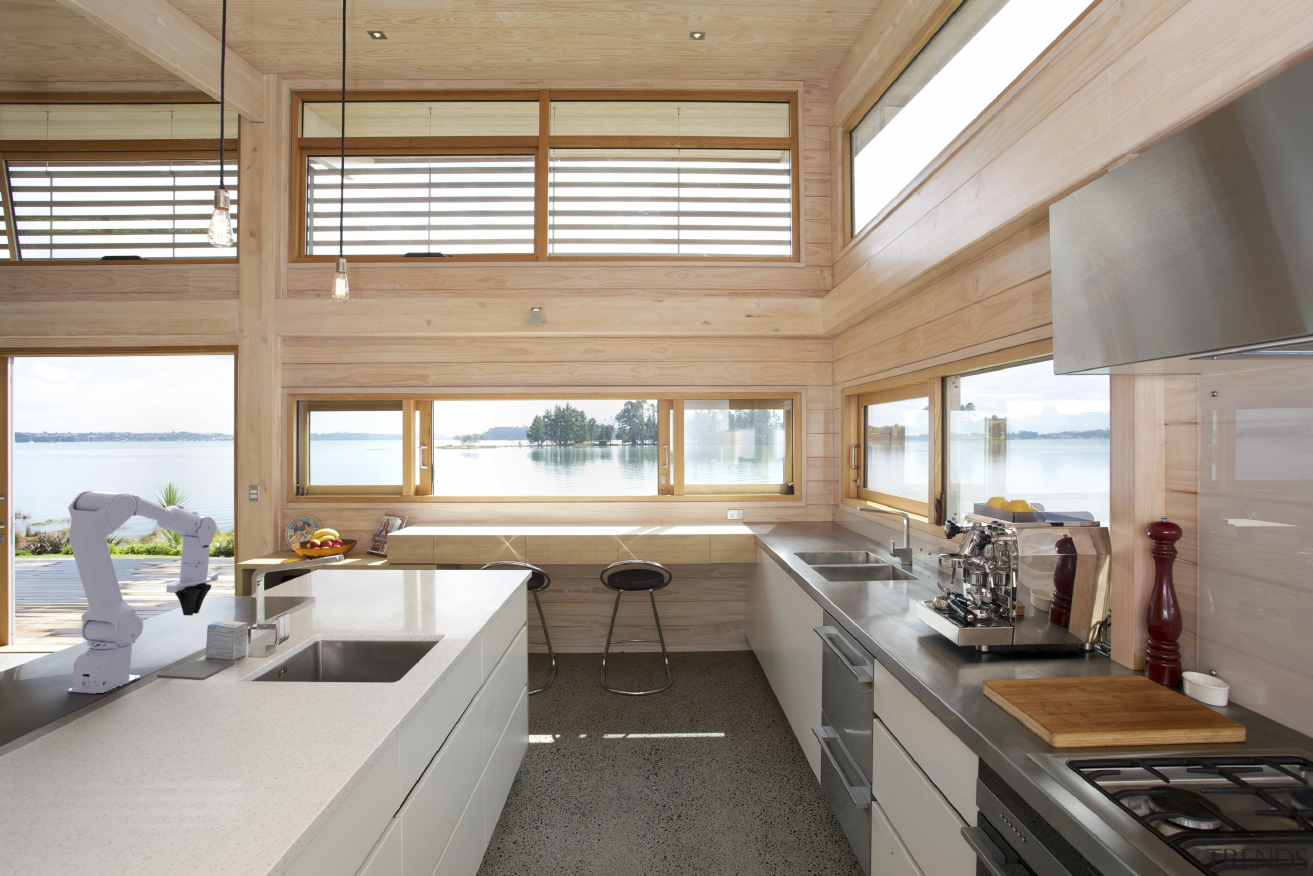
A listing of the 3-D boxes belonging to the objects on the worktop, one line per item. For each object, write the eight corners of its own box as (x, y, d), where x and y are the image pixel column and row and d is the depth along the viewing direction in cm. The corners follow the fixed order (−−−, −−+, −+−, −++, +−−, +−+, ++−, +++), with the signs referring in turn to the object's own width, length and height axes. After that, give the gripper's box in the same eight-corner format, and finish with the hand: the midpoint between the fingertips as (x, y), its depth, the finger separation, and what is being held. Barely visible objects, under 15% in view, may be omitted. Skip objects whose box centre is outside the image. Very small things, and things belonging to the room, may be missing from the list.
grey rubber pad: (203, 679, 139) (203, 677, 139) (157, 676, 140) (157, 674, 140) (234, 664, 149) (234, 662, 149) (191, 661, 150) (191, 659, 150)
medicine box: (246, 655, 156) (248, 622, 156) (232, 661, 151) (235, 627, 152) (218, 652, 157) (221, 619, 157) (204, 658, 152) (207, 624, 152)
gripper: (187, 568, 147) (183, 623, 147) (230, 557, 162) (226, 607, 161) (159, 566, 147) (155, 621, 147) (205, 556, 162) (201, 606, 162)
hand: (191, 614), depth 154 cm, fingers closed
